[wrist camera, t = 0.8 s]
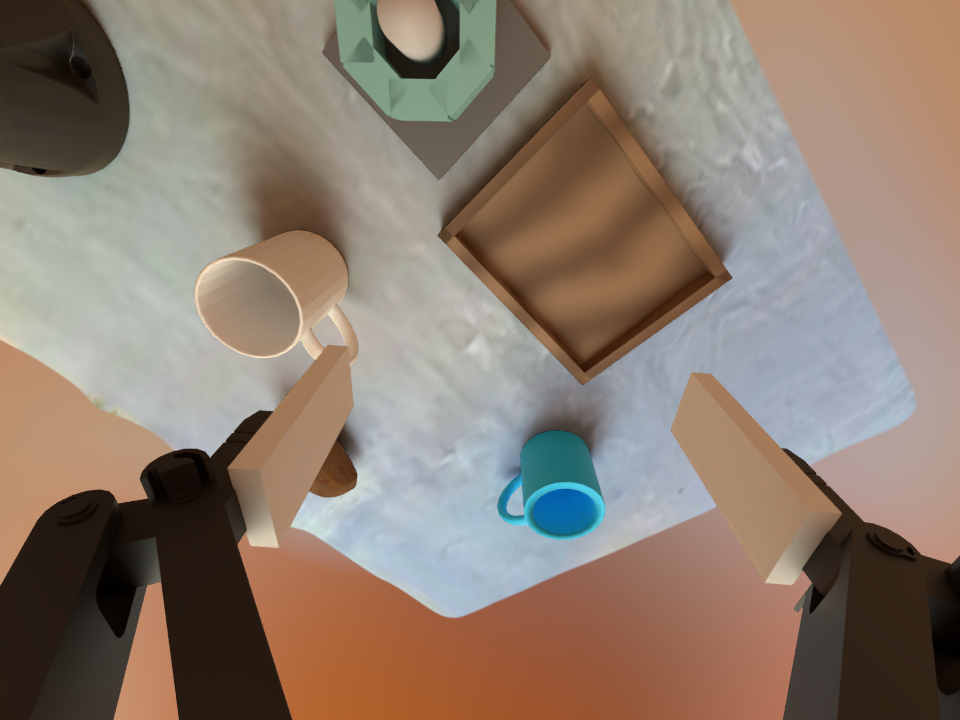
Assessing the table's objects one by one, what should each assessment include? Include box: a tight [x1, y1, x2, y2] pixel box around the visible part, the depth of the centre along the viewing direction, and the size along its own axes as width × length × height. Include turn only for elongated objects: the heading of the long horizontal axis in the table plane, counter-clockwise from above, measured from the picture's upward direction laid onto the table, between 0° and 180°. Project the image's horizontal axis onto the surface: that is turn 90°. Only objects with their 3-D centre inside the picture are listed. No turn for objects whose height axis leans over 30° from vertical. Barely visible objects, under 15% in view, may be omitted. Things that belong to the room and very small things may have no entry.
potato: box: [309, 441, 357, 497], centre depth 46 cm, size 7×12×7 cm, turn 41°
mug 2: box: [497, 430, 605, 540], centre depth 45 cm, size 12×8×8 cm
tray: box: [438, 77, 732, 385], centre depth 36 cm, size 20×16×2 cm
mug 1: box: [194, 230, 358, 366], centre depth 35 cm, size 12×8×10 cm, turn 46°
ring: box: [334, 0, 497, 122], centre depth 24 cm, size 9×11×3 cm
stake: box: [322, 0, 551, 180], centre depth 26 cm, size 12×12×12 cm
